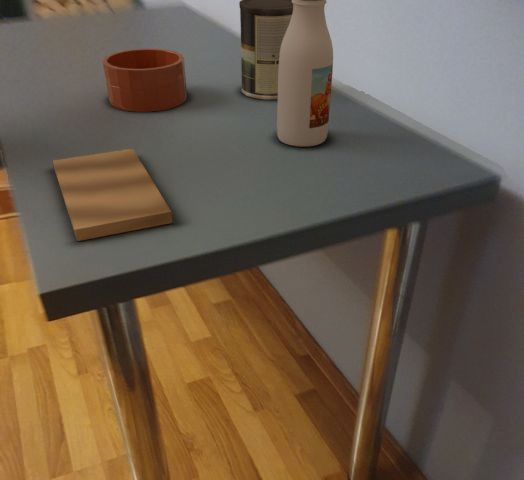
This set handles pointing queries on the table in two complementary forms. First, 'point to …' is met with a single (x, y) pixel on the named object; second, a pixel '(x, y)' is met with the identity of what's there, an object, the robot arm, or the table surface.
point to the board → (109, 194)
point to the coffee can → (262, 45)
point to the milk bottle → (305, 76)
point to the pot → (145, 79)
